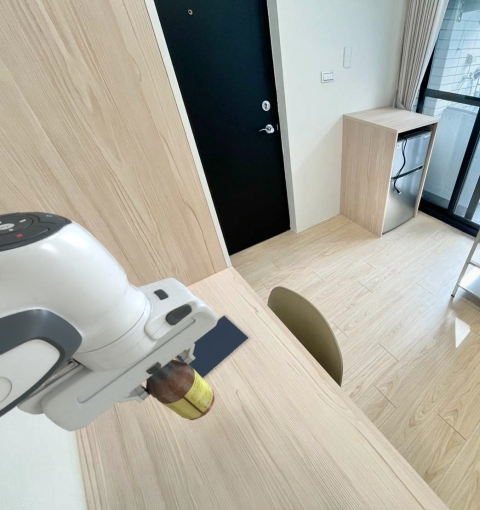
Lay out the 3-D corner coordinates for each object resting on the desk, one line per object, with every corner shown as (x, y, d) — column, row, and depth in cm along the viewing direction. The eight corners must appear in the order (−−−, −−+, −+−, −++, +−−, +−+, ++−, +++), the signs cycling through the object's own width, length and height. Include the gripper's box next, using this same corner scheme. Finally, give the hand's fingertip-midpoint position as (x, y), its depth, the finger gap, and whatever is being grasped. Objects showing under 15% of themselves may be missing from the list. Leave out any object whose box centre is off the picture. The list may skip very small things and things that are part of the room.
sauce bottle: (208, 380, 55) (166, 326, 41) (221, 404, 51) (181, 355, 38) (174, 403, 51) (116, 353, 38) (186, 431, 48) (128, 388, 34)
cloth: (198, 381, 70) (197, 381, 69) (174, 354, 75) (174, 353, 75) (248, 337, 79) (248, 337, 79) (224, 315, 84) (224, 315, 84)
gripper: (10, 425, 25) (100, 455, 35) (207, 291, 37) (234, 341, 46) (-4, 382, 28) (83, 420, 38) (183, 270, 40) (213, 321, 49)
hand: (167, 376), depth 42 cm, fingers closed on sauce bottle, 6 cm apart
